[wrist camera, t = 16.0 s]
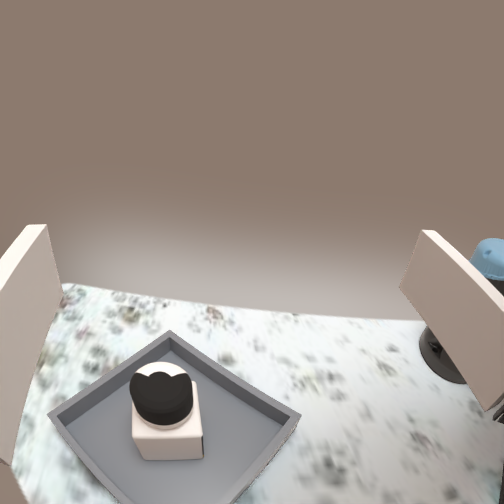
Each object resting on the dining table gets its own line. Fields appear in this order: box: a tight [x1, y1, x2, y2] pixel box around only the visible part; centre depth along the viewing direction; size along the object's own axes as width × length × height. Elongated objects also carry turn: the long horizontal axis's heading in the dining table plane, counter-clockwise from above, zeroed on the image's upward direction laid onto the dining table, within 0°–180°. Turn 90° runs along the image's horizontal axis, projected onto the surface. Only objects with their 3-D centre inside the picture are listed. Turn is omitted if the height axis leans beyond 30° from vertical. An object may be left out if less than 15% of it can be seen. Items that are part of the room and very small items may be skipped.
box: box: [47, 330, 302, 504], centre depth 32 cm, size 22×22×4 cm
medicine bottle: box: [129, 362, 204, 460], centre depth 29 cm, size 7×7×12 cm
